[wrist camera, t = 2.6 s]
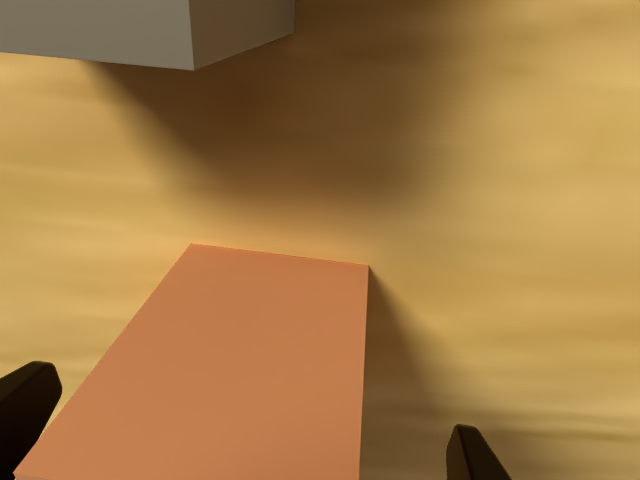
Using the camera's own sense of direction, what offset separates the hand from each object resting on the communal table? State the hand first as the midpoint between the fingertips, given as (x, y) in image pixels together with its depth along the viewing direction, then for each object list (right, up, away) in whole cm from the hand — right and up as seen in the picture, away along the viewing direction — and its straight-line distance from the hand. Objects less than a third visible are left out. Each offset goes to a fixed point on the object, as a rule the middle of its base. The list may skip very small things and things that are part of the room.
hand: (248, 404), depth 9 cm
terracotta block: (0, +1, +2) cm, 3 cm away
